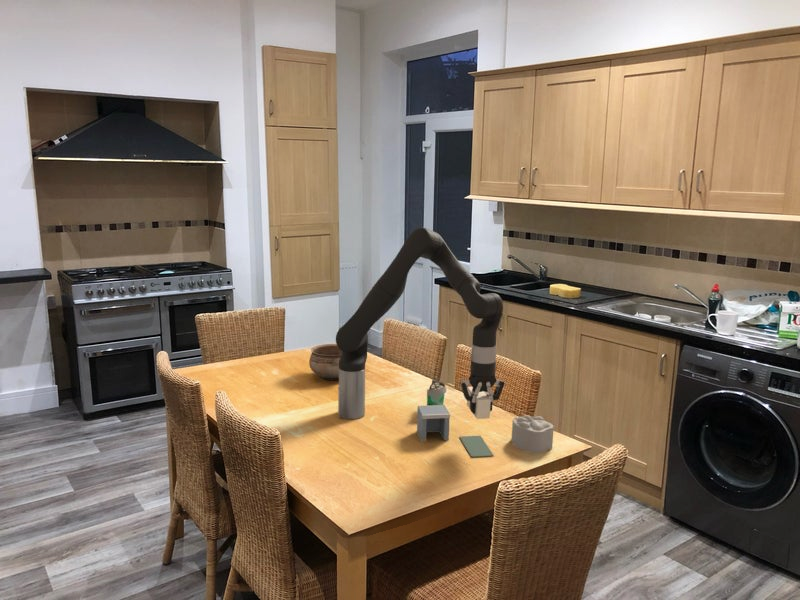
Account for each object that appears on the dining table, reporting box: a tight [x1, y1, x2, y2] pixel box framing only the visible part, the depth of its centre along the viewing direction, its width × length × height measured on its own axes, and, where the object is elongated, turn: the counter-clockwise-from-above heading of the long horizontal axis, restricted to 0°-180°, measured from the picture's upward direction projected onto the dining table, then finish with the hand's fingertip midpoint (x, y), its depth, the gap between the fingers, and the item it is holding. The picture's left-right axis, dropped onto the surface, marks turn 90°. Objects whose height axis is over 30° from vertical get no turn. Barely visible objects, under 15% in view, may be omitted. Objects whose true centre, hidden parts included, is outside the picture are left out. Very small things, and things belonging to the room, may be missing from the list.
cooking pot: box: [308, 343, 342, 381], centre depth 265 cm, size 25×19×12 cm
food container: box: [426, 379, 447, 405], centre depth 230 cm, size 12×6×10 cm, turn 168°
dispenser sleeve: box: [416, 404, 451, 442], centre depth 208 cm, size 9×9×9 cm
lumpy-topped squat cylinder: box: [510, 414, 555, 455], centre depth 204 cm, size 10×13×9 cm
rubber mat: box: [459, 435, 495, 459], centre depth 202 cm, size 7×15×1 cm, turn 9°
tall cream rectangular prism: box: [466, 386, 491, 420], centre depth 198 cm, size 4×12×6 cm, turn 9°
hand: (480, 412), depth 196 cm, fingers closed on tall cream rectangular prism, 4 cm apart
